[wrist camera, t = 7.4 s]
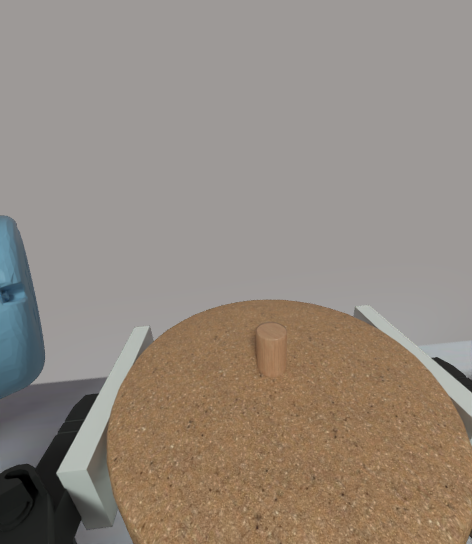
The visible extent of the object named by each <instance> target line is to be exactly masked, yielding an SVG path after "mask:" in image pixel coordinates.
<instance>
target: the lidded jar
mask: <svg viewBox="0 0 472 544" xmlns="http://www.w3.org/2000/svg"><path fill="white" fill-rule="evenodd" d="M107 467H108V472H109V477H110V482H111V487H112V492H113V496H114V499H115V502H116V504H117V506H118V509H119V511H120V513H121V516H122V518H123V520H124V523H125V525H126V527H127V530H128V532H129V534H130V537H131V539H132V541H133V543H134V544H466V542H467V540H468V537H469V534H470V532H471V529H472V446H471V443H470V440H469V437H468V434H467V431H466V428H465V426H464V423H463V421H462V419H461V417H460V415H459V414H458V412H457V410H456V408H455V406H454V404H453V403H452V401H451V399H450V397H449V395H448V394H447V392H446V391H445V390H444V388H443V387H442V386H441V385H440V383H439V382H438V381H437V379H436V378H435V377H434V376H433V374H432V373H431V372H430V371H429V370H428V369H427V368H426V367H425V366H424V365H423V363H422V362H421V361H420V360H419V359H418V358H417V357H416V356H415V355H414V354H412V353H411V352H410V351H409V350H407V349H406V348H405V347H404V346H402V345H401V344H400V343H399V342H397V341H396V340H394V339H393V338H391V337H390V336H388V335H387V334H385V333H384V332H382V331H381V330H379V329H377V328H375V327H373V326H371V325H370V324H368V323H366V322H364V321H362V320H359V319H357V318H355V317H353V316H350V315H348V314H345V313H342V312H339V311H336V310H333V309H330V308H326V307H322V306H319V305H315V304H310V303H303V302H297V301H288V300H251V301H243V302H236V303H231V304H227V305H222V306H219V307H215V308H212V309H209V310H206V311H203V312H201V313H198V314H195V315H193V316H191V317H189V318H188V319H185V320H184V321H182V322H180V323H178V324H177V325H175V326H173V327H172V328H170V329H169V330H167V331H166V332H165V333H163V334H162V335H161V336H160V337H158V338H157V339H156V340H155V341H154V342H153V343H151V344H150V345H149V346H148V347H147V348H146V349H145V350H144V351H143V352H142V353H141V355H140V356H139V357H138V359H137V360H136V361H135V363H134V364H133V366H132V367H131V368H130V370H129V372H128V373H127V375H126V377H125V379H124V380H123V382H122V384H121V386H120V388H119V390H118V393H117V396H116V398H115V401H114V404H113V406H112V409H111V414H110V419H109V424H108V430H107Z"/></svg>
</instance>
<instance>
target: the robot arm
mask: <svg viewBox="0 0 472 544" xmlns="http://www.w3.org/2000/svg"><path fill="white" fill-rule="evenodd" d="M354 317H355V318H357V319H359V320H362V321H364V322H366V323H368V324H370V325H371V326H373V327H375V328H377V329H379V330H381V331H382V332H384V333H385V334H387V335H388V336H390V337H391V338H393V339H394V340H396V341H397V342H399V343H400V344H401V345H402V346H404V347H405V348H406V349H407V350H409V351H410V352H411V353H412V354H414V355H415V356H416V357H417V358H418V359H419V360H420V361H421V362H422V363H423V365H424V366H425V367H426V368H427V369H428V370H429V371H430V372H431V373H432V374H433V376H434V377H435V378H436V379H437V381H438V382H439V383H440V385H441V386H442V387H443V388H444V390H445V391H446V392H447V394H448V395H449V397H450V399H451V401H452V403H453V404H454V406H455V408H456V410H457V412H458V414H459V415H460V417H461V419H462V421H463V423H464V426H465V428H466V431H467V434H468V437H469V440H470V443H471V446H472V380H470V379H469V378H466V376H465V375H464V374H463V373H462V372H460V371H459V370H458V369H457V368H455V367H454V366H453V365H451V364H449V363H447V362H445V361H443V360H442V359H440V358H438V357H435V358H430V357H429V356H428V355H427V354H426V353H425V352H423V351H422V350H421V349H420V348H419V347H417V346H416V345H415V344H414V343H413V342H412V341H410V340H409V339H408V338H407V337H406V336H405V335H403V334H402V333H401V332H400V331H399V330H397V329H396V328H395V327H394V326H393V325H391V324H390V323H389V322H388V321H387V320H386V319H384V318H383V317H382V316H381V315H380V314H379V313H377V312H376V311H375V310H374V309H373V308H372V307H370V306H369V305H366V306H355V310H354ZM153 342H154V341H153V337H152V332H151V328H150V326H142V327H135V328H134V330H133V331H132V333H131V335H130V337H129V339H128V341H127V343H126V345H125V346H124V348H123V350H122V352H121V354H120V356H119V357H118V359H117V361H116V363H115V365H114V367H113V369H112V370H111V372H110V374H109V376H108V378H107V380H106V382H105V383H104V385H103V387H102V389H101V391H100V393H99V394H90V395H85V396H84V397H83V398H82V399H81V400H80V401H79V402H78V403H77V404H76V405H75V406H74V407H73V409H72V410H71V412H70V413H69V415H68V417H67V418H66V420H65V423H63V425H62V426H61V428H60V430H59V431H58V435H56V436H55V438H54V439H53V441H52V443H51V444H50V446H49V447H48V449H47V451H46V452H45V454H44V456H43V457H42V459H41V460H40V462H39V464H38V465H37V467H36V468H34V467H33V466H31V465H29V464H22V465H17V466H14V467H12V468H9V469H7V470H5V471H3V472H2V473H0V544H77V543H76V540H75V534H76V532H77V529H78V527H79V524H80V521H81V520H82V522H83V524H84V526H85V528H86V530H90V529H98V528H106V527H112V526H113V523H114V520H115V516H116V513H117V510H118V506H117V504H116V502H115V499H114V496H113V492H112V487H111V482H110V477H109V472H108V467H107V430H108V424H109V419H110V414H111V409H112V406H113V404H114V401H115V398H116V396H117V393H118V390H119V388H120V386H121V384H122V382H123V380H124V379H125V377H126V375H127V373H128V372H129V370H130V368H131V367H132V366H133V364H134V363H135V361H136V360H137V359H138V357H139V356H140V355H141V353H142V352H143V351H144V350H145V349H146V348H147V347H148V346H149V345H150V344H151V343H153ZM44 362H45V350H44V341H43V334H42V328H41V322H40V317H39V311H38V306H37V301H36V296H35V292H34V287H33V282H32V278H31V273H30V269H29V265H28V260H27V256H26V252H25V249H24V245H23V241H22V238H21V235H20V232H19V230H18V229H17V224H16V222H15V221H14V220H13V219H12V218H10V217H8V216H1V215H0V399H1V398H3V397H6V396H8V395H10V394H12V393H14V392H17V391H19V390H21V389H23V388H25V387H27V386H28V385H30V384H31V383H32V382H33V381H34V380H35V379H36V378H37V377H38V376H39V374H40V373H41V371H42V369H43V366H44Z"/></svg>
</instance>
